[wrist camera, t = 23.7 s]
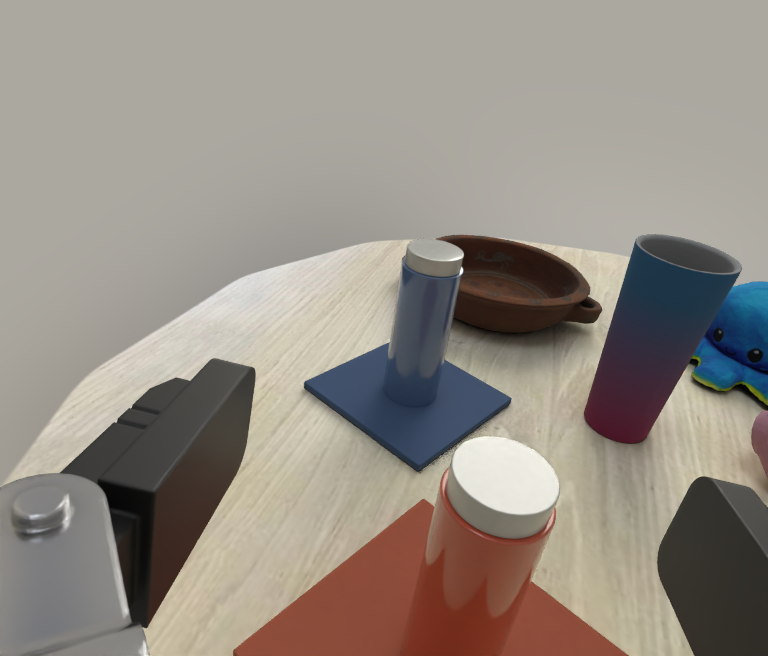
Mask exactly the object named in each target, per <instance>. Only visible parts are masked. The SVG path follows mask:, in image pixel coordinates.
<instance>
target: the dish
mask: <svg viewBox="0 0 768 656" xmlns="http://www.w3.org/2000/svg"><path fill="white" fill-rule="evenodd" d="M435 240H441V241H445V242H448V243H451V244H453V245H455V246H457V247H459V248H460V249H461V250H462V251H463V253H464V258H463V262H462V268H463V276H462V281H461V286H460V290H459V295H458V299H457V304H456V309H455V313H454V318H456V319H459V320H461V321H463V322H465V323H468V324H471V325H474V326H477V327H480V328H484V329H488V330H493V331H499V332H515V333H517V332H528V331H536V330H540V329H544V328H547V327H550V326H552V325H554V324H556V323H558V322H562V321H571V322H579V323H586V324H588V323H594V322H595V321H596V320H597V319H598V317H599V315H600V313H601V311H602V307H601V305H600V304H599V303H598V302H597V301H595V300H593V299H592V298H590V297H588V295H589V294H590V286H589V284H588V282H587V281H586V280H585V278H584V277H583V276H582V274H581V273H580V272H579V271H578V270H577V269H576V268H575V267H573V266H572V265H571V264H569V263H567V262H566V261H564V260H562V259H560V258H559V257H557V256H555V255H553V254H551V253H549V252H546V251H544V250H542V249H539V248H536V247H533V246H529V245H526V244H522V243H518V242H514V241H509V240H504V239H499V238H492V237H485V236H473V235H451V236H444V237H441V238H437V239H435ZM405 256H406V255H405ZM405 256H404V257H405ZM404 257H403V258H404ZM403 258H402V260H403Z"/></svg>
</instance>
